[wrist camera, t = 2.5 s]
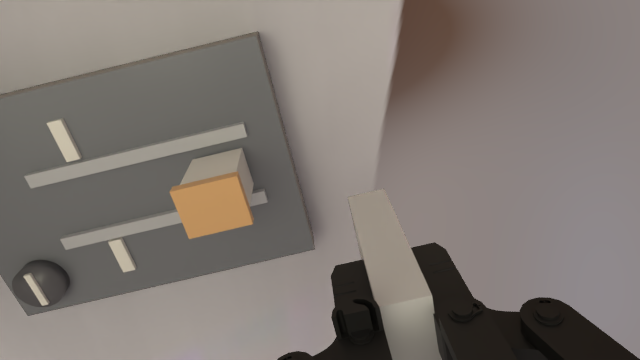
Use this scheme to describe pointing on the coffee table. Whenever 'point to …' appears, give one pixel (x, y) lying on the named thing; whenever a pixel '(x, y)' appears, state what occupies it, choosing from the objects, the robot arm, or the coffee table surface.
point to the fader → (215, 194)
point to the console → (139, 175)
